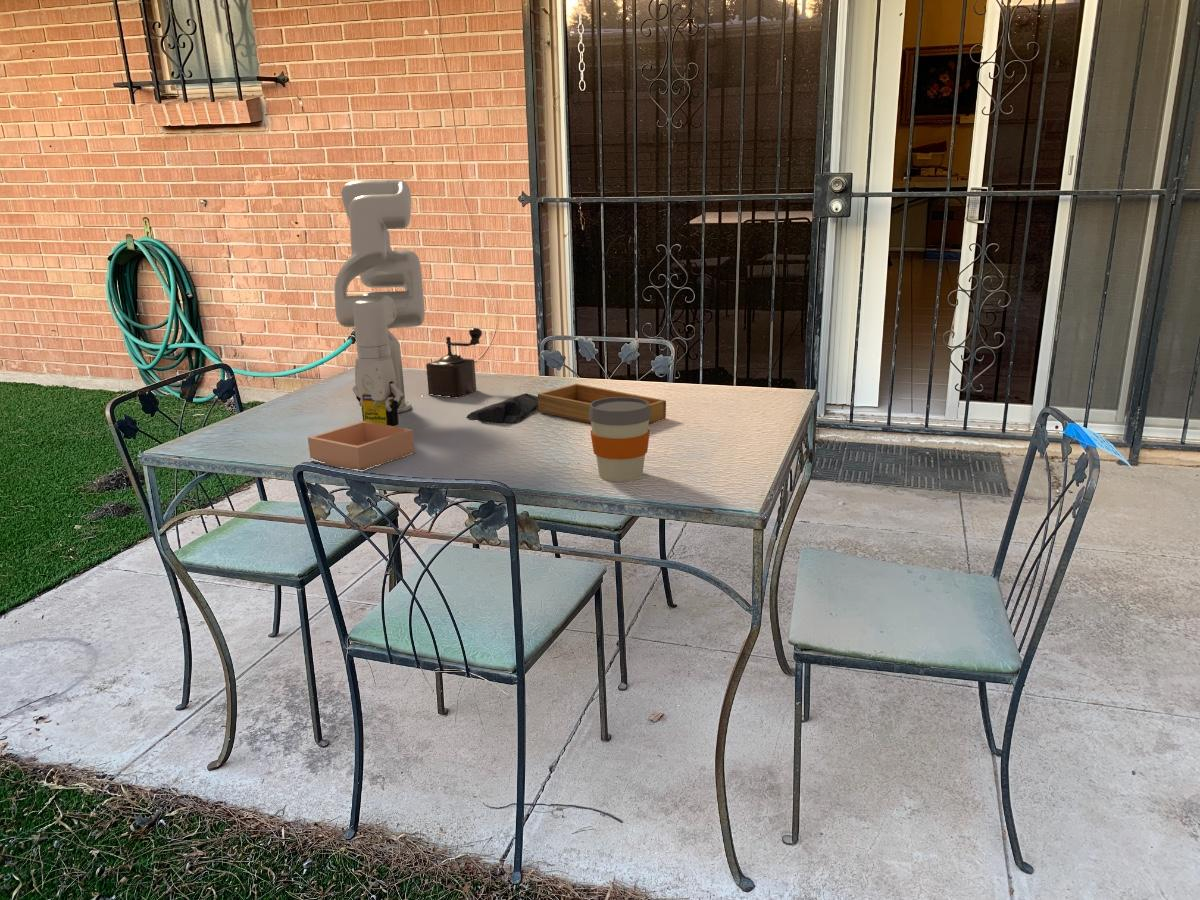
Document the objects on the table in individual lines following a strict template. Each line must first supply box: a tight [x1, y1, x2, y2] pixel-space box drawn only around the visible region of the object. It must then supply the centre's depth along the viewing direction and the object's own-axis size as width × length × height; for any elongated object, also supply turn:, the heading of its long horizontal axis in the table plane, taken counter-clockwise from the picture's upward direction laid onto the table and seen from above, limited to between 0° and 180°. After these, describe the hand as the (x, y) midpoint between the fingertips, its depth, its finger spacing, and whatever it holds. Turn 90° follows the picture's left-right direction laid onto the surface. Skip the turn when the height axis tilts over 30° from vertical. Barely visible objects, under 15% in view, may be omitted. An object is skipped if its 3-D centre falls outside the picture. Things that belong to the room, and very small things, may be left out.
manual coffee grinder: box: [425, 327, 483, 398], centre depth 255 cm, size 16×11×18 cm
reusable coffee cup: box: [589, 397, 651, 483], centre depth 178 cm, size 13×13×15 cm
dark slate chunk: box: [466, 392, 538, 424], centre depth 231 cm, size 15×22×5 cm
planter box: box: [307, 420, 415, 470], centre depth 195 cm, size 16×16×6 cm
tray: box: [537, 383, 667, 425], centre depth 225 cm, size 31×15×6 cm, turn 49°
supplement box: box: [362, 393, 398, 427], centre depth 212 cm, size 6×6×11 cm
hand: (380, 423), depth 212 cm, fingers closed on supplement box, 7 cm apart
